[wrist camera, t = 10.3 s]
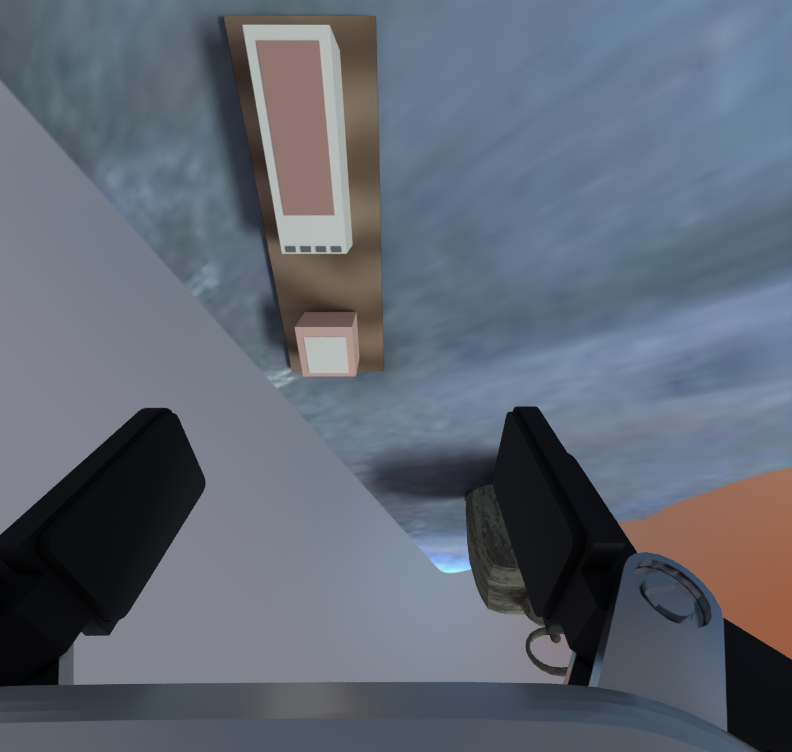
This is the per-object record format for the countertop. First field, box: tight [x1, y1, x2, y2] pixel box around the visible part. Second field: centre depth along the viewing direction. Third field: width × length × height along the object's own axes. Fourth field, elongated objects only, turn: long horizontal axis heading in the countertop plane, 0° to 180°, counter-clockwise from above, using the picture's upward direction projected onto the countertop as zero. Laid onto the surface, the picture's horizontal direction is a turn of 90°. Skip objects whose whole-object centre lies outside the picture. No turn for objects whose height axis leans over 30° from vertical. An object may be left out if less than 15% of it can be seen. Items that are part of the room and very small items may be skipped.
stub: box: [295, 312, 360, 376], centre depth 37 cm, size 6×6×5 cm
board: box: [224, 16, 384, 371], centre depth 34 cm, size 32×12×1 cm, turn 0°
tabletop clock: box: [465, 484, 568, 676], centre depth 43 cm, size 14×9×25 cm, turn 98°
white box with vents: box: [242, 25, 353, 254], centre depth 28 cm, size 15×6×5 cm, turn 0°
